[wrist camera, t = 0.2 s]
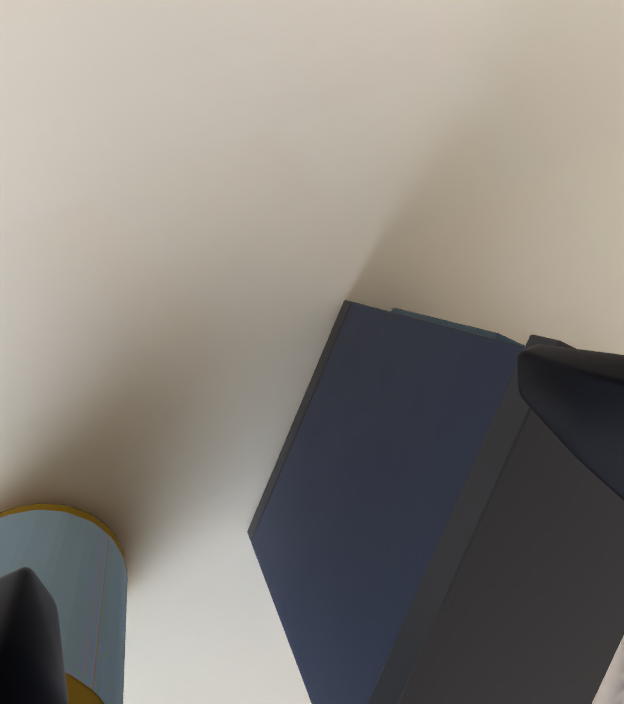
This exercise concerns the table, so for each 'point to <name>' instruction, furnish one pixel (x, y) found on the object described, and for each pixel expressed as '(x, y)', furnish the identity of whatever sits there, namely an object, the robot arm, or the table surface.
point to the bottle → (75, 591)
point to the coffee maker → (437, 527)
